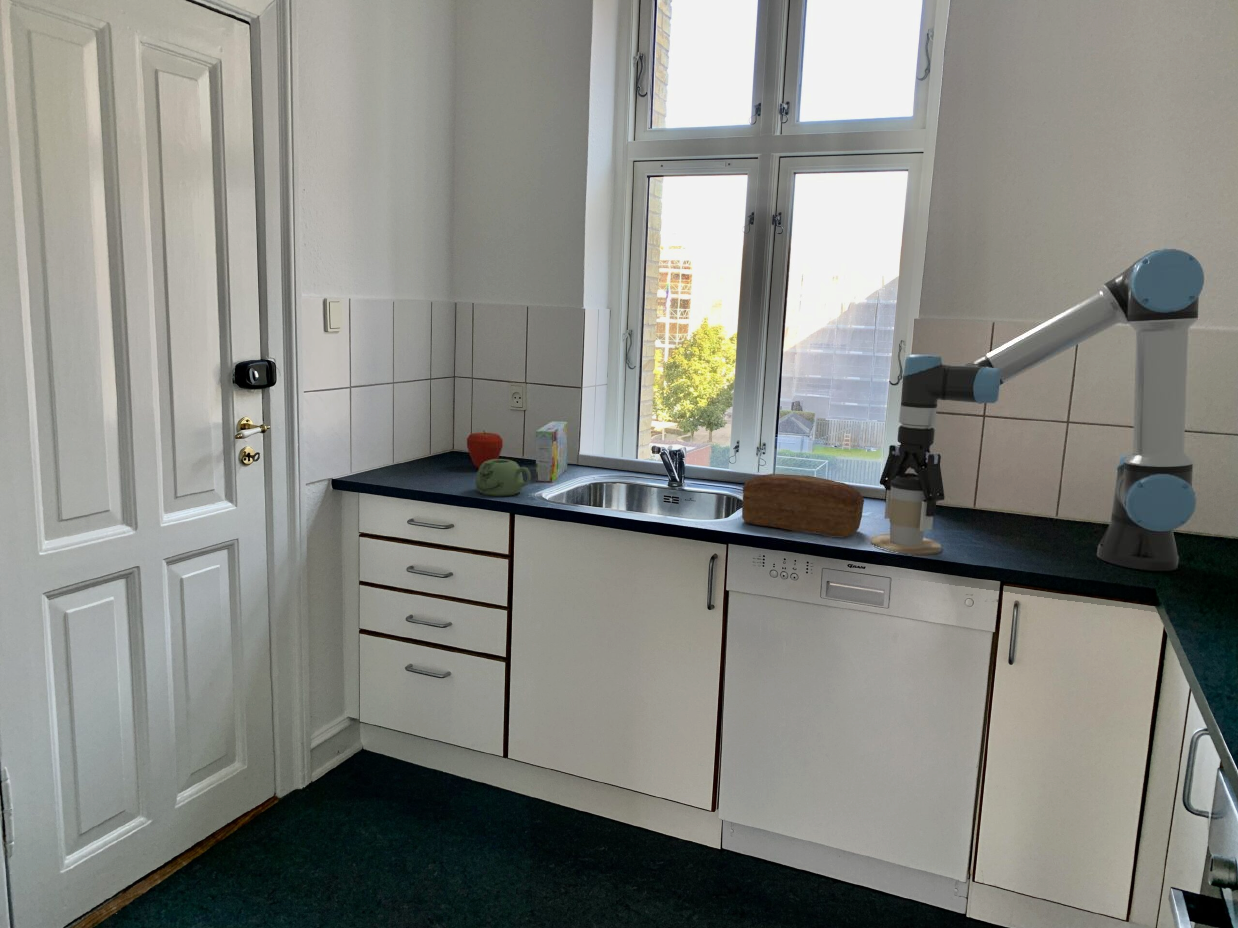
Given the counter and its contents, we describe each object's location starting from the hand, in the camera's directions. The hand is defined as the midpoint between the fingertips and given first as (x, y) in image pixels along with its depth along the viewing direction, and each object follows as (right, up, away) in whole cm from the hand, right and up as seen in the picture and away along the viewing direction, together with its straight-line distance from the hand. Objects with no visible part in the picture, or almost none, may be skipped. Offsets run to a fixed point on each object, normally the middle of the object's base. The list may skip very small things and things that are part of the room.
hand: (907, 524), depth 196 cm
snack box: (-84, +10, +68) cm, 108 cm away
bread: (-21, -2, +14) cm, 26 cm away
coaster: (0, -5, +1) cm, 5 cm away
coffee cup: (0, -4, +1) cm, 4 cm away
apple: (-105, +12, +74) cm, 129 cm away
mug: (-95, +5, +41) cm, 103 cm away
